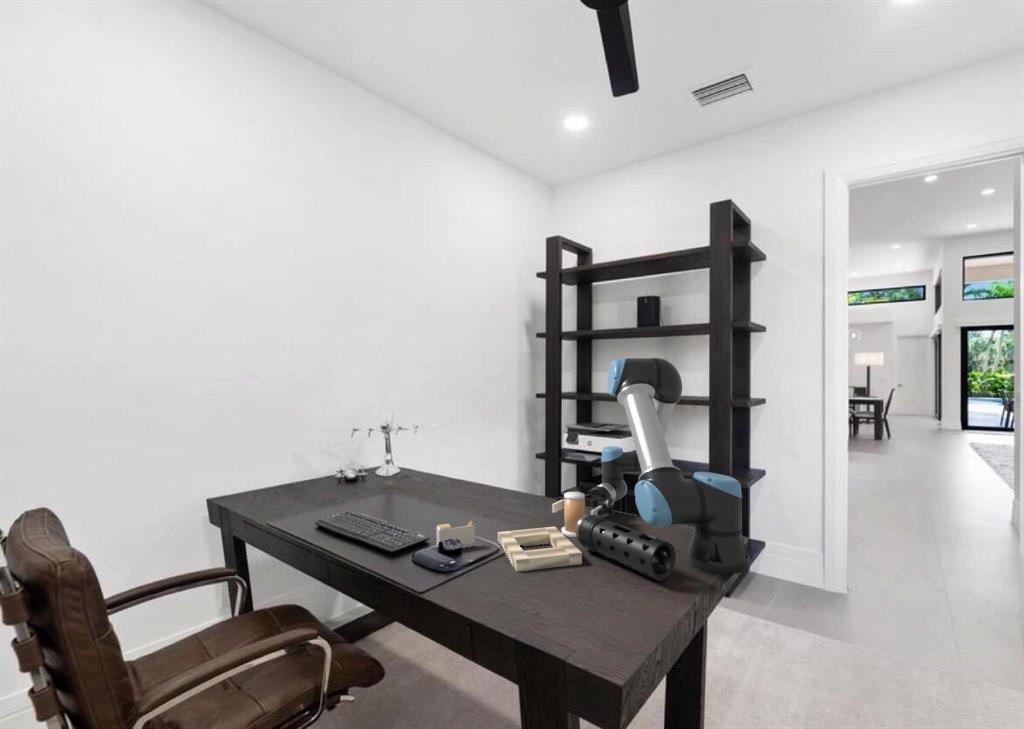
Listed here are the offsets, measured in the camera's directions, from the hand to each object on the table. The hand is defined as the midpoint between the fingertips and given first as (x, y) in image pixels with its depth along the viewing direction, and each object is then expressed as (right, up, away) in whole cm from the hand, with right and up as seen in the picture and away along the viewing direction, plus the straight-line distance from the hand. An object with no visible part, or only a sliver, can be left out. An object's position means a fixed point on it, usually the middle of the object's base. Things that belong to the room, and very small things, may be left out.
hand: (571, 511), depth 155 cm
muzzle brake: (+10, -7, -24) cm, 27 cm away
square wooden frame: (-12, -7, -15) cm, 20 cm away
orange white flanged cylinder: (+1, -7, +1) cm, 7 cm away
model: (-35, -8, -10) cm, 37 cm away
